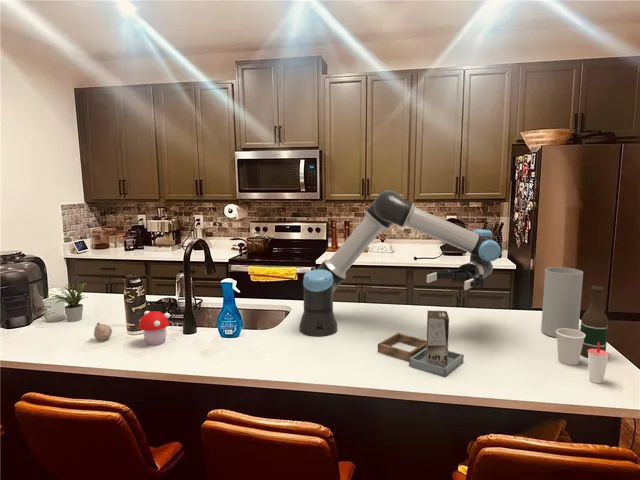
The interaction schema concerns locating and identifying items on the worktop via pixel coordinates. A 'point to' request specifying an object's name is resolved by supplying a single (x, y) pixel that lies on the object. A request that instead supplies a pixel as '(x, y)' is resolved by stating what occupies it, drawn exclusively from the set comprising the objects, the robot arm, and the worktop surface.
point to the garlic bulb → (102, 331)
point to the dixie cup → (569, 345)
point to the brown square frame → (386, 349)
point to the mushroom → (154, 327)
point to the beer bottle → (594, 323)
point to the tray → (421, 363)
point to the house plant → (72, 303)
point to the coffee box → (437, 338)
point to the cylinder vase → (561, 299)
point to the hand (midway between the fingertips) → (445, 282)
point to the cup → (597, 364)
